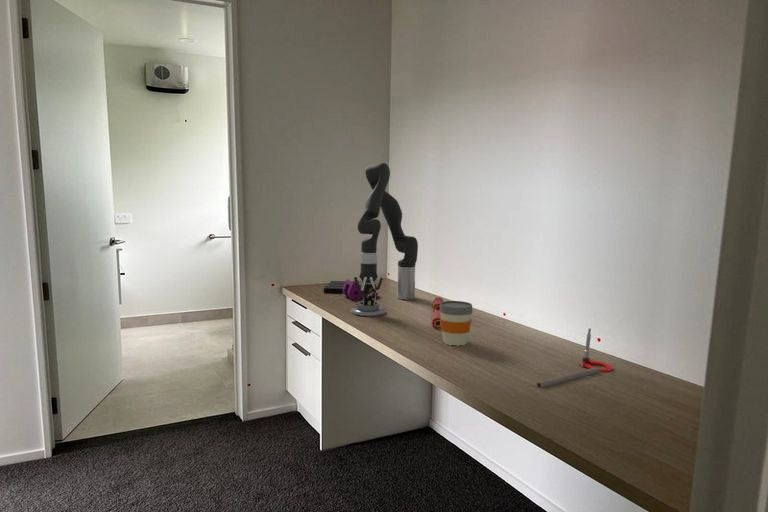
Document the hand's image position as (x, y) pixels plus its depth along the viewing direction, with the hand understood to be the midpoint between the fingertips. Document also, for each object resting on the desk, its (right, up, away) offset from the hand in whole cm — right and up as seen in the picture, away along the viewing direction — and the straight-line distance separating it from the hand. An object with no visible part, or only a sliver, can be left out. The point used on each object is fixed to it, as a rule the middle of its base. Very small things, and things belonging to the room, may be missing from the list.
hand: (368, 298), depth 243 cm
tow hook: (+79, -18, -69) cm, 106 cm away
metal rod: (+65, -20, -80) cm, 105 cm away
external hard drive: (-18, 0, +55) cm, 58 cm away
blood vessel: (+32, -9, -4) cm, 34 cm away
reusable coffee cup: (+34, -14, -44) cm, 57 cm away
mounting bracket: (-4, -3, +34) cm, 35 cm away
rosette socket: (0, -7, +1) cm, 7 cm away
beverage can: (0, -5, +1) cm, 5 cm away
